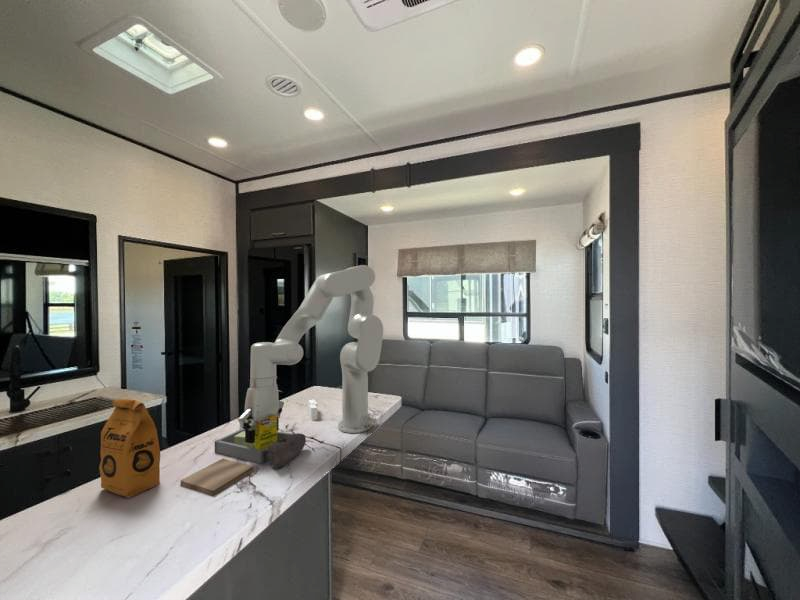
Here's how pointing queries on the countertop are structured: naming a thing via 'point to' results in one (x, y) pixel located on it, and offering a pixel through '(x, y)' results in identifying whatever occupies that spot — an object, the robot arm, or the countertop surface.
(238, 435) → the olive block
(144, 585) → the countertop surface
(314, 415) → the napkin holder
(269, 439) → the supplement box
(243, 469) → the pad
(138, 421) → the coffee package
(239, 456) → the bin
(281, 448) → the perforated stone tool
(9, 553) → the countertop surface
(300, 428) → the countertop surface
